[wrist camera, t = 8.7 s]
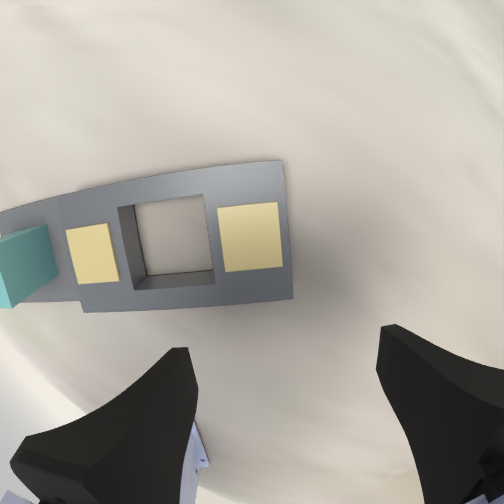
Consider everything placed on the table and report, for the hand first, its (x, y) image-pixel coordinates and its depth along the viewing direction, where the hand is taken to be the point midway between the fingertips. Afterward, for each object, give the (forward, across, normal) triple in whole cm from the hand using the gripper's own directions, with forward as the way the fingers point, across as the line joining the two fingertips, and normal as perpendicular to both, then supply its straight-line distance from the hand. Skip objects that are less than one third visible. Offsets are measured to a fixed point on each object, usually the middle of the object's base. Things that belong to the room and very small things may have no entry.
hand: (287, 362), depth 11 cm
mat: (+10, +18, -3) cm, 21 cm away
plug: (+10, +18, -3) cm, 21 cm away
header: (+10, +6, -3) cm, 12 cm away
